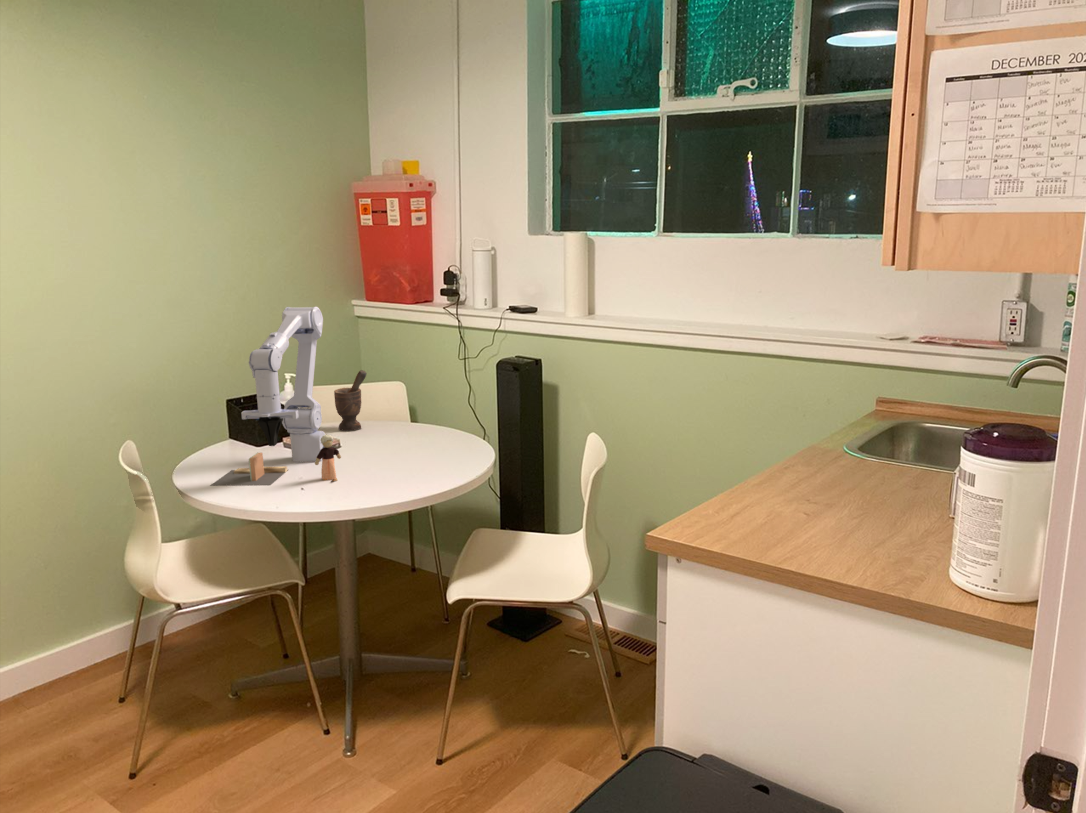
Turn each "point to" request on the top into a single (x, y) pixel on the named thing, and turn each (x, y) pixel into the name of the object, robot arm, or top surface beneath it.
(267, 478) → the mat
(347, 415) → the mortar and pestle
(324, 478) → the grandmother figurine
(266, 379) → the robot arm
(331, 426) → the top surface
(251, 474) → the tile
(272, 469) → the light wooden plank
